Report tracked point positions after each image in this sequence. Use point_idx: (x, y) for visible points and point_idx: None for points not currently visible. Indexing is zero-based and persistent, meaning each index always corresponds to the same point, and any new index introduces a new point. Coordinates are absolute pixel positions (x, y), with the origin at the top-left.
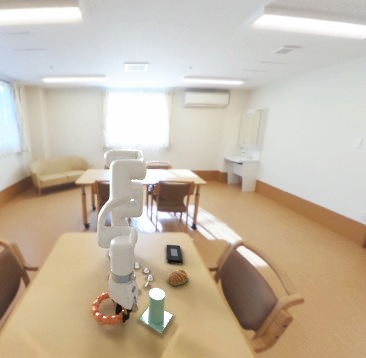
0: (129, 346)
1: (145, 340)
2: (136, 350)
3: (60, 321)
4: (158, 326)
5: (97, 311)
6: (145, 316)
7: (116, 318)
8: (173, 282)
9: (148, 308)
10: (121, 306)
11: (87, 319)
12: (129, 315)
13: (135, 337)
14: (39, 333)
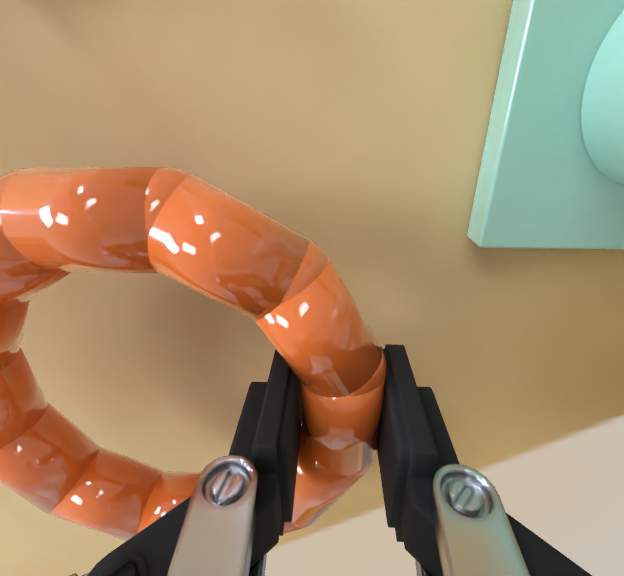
0: (484, 428)
1: (590, 344)
2: (543, 426)
3: (27, 502)
4: None
5: (131, 530)
6: (545, 169)
7: (333, 500)
8: None
9: (547, 5)
10: (291, 436)
11: (113, 431)
12: (439, 414)
13: (499, 365)
14: (40, 564)
